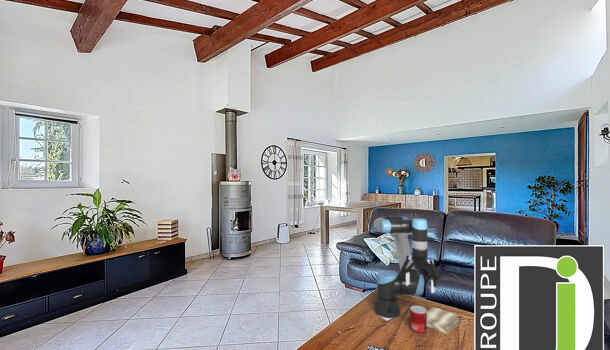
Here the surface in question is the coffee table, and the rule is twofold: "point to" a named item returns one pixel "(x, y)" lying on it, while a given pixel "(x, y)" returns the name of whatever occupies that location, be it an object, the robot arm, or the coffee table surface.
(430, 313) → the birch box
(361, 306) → the coffee table surface
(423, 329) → the canned food
